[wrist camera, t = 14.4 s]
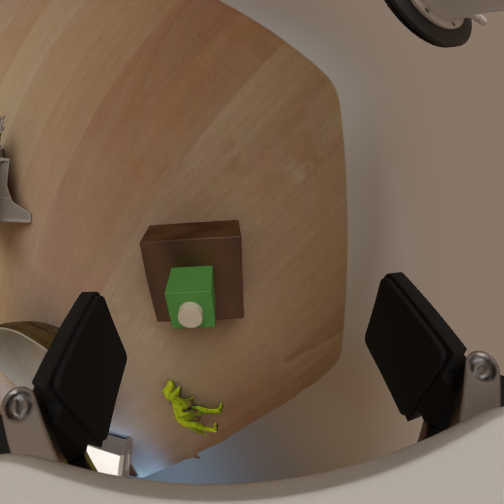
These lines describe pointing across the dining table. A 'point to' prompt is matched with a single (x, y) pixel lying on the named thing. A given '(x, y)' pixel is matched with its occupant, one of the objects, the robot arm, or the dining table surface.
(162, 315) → the walnut block
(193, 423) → the dinosaur figurine
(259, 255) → the dining table surface
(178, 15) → the dining table surface
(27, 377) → the bowl
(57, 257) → the dining table surface
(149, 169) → the dining table surface
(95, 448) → the white boxy piece
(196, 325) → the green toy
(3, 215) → the toy spacecraft
